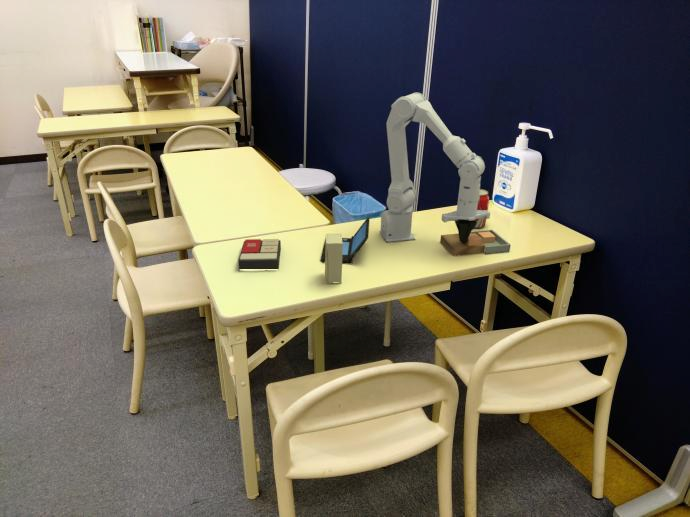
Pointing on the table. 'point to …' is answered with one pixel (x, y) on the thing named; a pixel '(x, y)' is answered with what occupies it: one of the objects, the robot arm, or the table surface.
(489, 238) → the tile
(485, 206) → the soda can
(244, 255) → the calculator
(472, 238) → the tile
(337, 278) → the skincare box
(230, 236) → the table surface
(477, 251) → the shallow brown tray
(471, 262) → the table surface
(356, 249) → the game console
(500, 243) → the box
